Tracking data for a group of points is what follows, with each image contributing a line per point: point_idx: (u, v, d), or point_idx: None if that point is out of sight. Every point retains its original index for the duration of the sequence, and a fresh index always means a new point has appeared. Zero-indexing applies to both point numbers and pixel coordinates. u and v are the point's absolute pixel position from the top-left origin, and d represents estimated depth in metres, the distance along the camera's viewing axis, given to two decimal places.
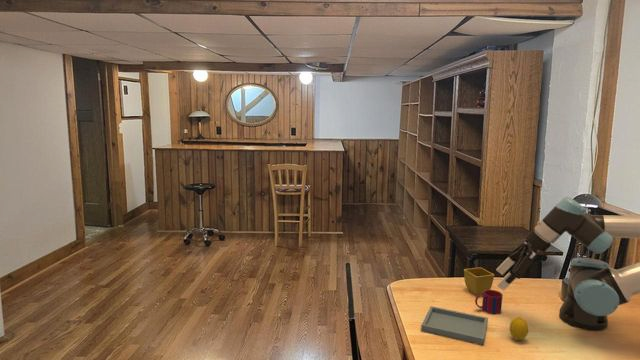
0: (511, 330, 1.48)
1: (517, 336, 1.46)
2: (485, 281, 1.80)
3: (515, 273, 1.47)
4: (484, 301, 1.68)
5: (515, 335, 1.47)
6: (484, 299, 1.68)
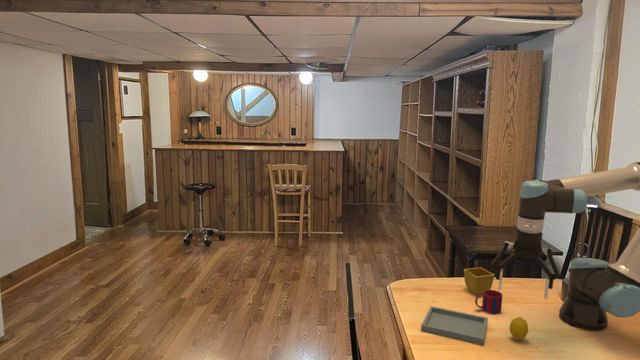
0: (511, 330, 1.48)
1: (517, 336, 1.46)
2: (485, 281, 1.80)
3: None
4: (484, 301, 1.68)
5: (515, 335, 1.47)
6: (484, 299, 1.68)
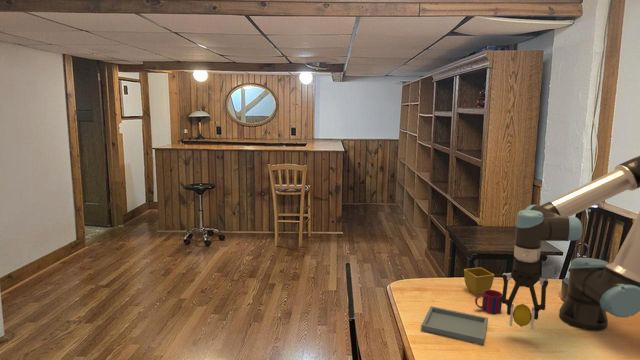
0: (514, 317, 1.47)
1: (520, 323, 1.46)
2: (485, 281, 1.80)
3: (544, 307, 1.43)
4: (484, 301, 1.68)
5: (518, 322, 1.46)
6: (484, 299, 1.68)
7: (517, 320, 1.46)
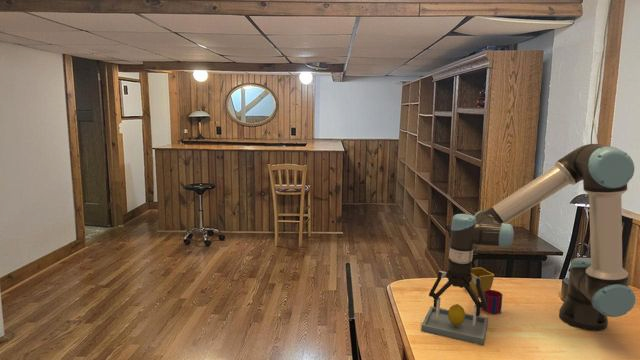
0: (449, 316, 1.55)
1: (454, 322, 1.53)
2: (485, 281, 1.80)
3: (485, 304, 1.50)
4: None
5: (452, 321, 1.54)
6: None
7: (451, 319, 1.54)
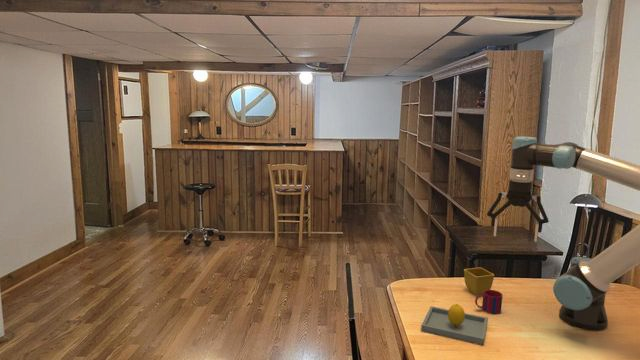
0: (448, 316, 1.55)
1: (454, 322, 1.53)
2: (485, 281, 1.80)
3: None
4: (484, 301, 1.68)
5: (452, 321, 1.54)
6: (484, 299, 1.68)
7: (451, 319, 1.54)
